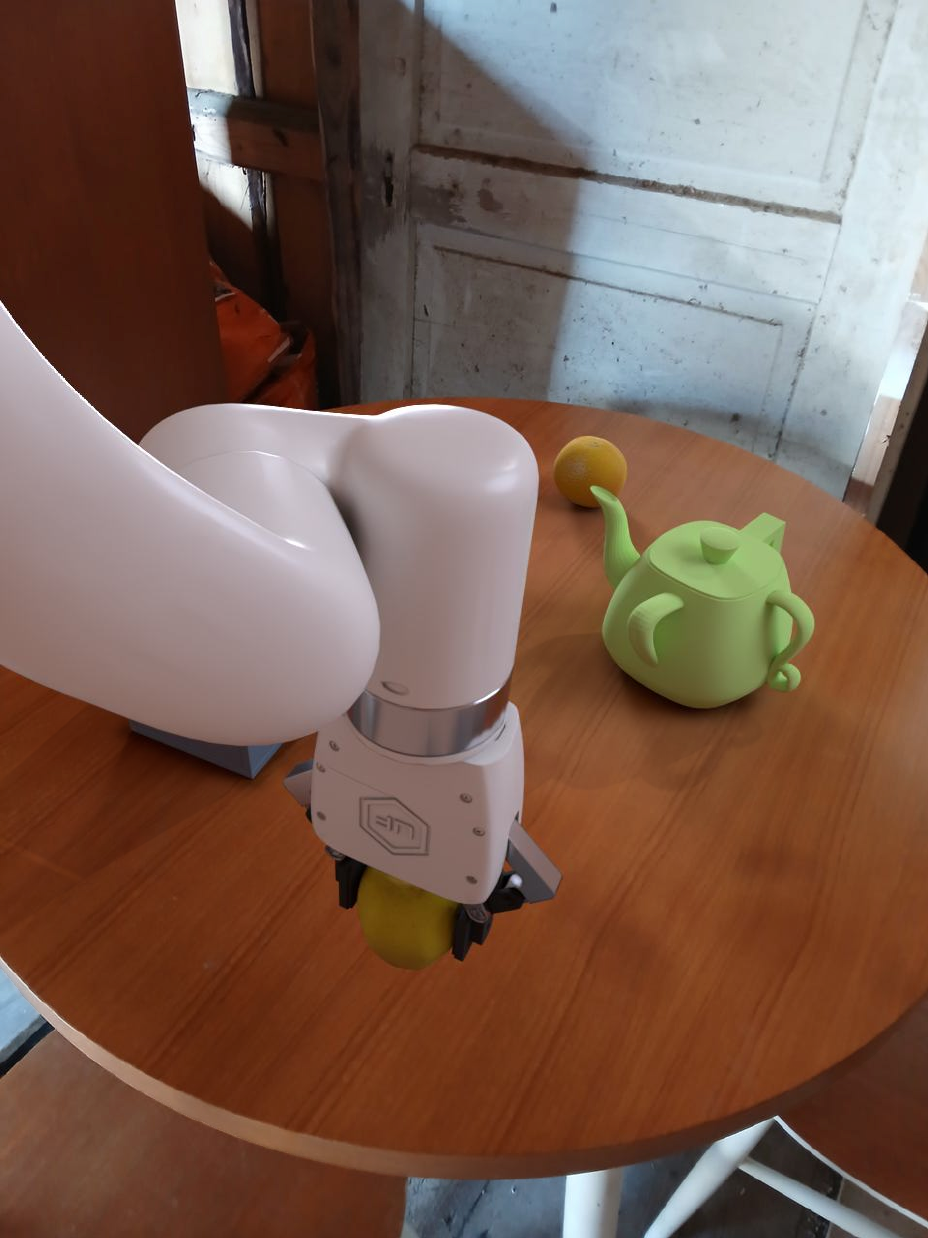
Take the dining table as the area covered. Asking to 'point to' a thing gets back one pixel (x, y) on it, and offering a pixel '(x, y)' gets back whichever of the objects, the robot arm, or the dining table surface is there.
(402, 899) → the apple
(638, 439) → the dining table surface
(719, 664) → the teapot
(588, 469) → the fruit
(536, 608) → the dining table surface
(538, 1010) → the dining table surface
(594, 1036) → the dining table surface
